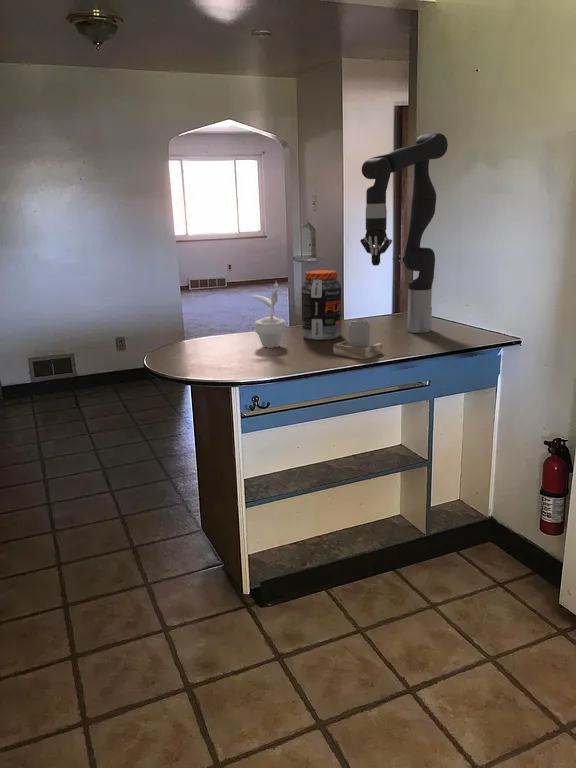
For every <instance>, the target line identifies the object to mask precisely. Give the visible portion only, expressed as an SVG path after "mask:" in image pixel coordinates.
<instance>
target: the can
mask: <svg viewBox="0 0 576 768" xmlns="http://www.w3.org/2000/svg"><path fill="white" fill-rule="evenodd" d="M370 325H371V324H370V323H369V320H368V319H367V318H353V319H351V320H350V322H349V323H348V340H349V346H351V347H357V348H363V349H364V348H366V347H369V346H371V345H370V344H371V343H370V341H371V340H370V337H371V336H370V335H371V333H370V332H371V331H370Z"/></svg>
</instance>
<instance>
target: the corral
mask: <svg viewBox="0 0 576 768" xmlns="http://www.w3.org/2000/svg"><path fill="white" fill-rule="evenodd" d="M332 349H333V355H335V356H336V355H338V356H341V357H342V356H343V357H348V358H352V359H360V360H367V359H369V358H371V357H374V356H375V357H376V356H378V355H380V354H383V343H382V342H378V343H375V344H372V345H370V346H369V347H366V348H364V349H363V348H357V347H351V346H349V339H347V340H346V339H345V340H344V341H343V340H342V341H340V342H338V343H337V342H336V343H333V348H332Z"/></svg>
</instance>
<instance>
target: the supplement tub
mask: <svg viewBox="0 0 576 768" xmlns="http://www.w3.org/2000/svg"><path fill="white" fill-rule="evenodd" d="M304 277H305V280H304V281H303V282H302V284H301V325H302V326H301V327H302V335H303V337H304V338H306V339H308V340H317V341H319V340H321V341H322V340H325V341H326V340H334V339H337V338H339V337H340V336H341V334H342V284H341V283H340V281H339V280H338V278H337V277H338V272H337V270H332V269H316V270H315V269H314V270H307V271H305V273H304Z"/></svg>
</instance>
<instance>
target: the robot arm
mask: <svg viewBox="0 0 576 768" xmlns="http://www.w3.org/2000/svg"><path fill="white" fill-rule="evenodd" d="M448 146H449V145H448V139H447V137H446V135H444V134H443V133H440V132H432V133H425V134H421V135H419V136H418V137H417V139H416V141H415V144H414V145H410V146H404V147H401V148H398V149H395V150H393V151H390V152H388V153H385V154H382V155H377V156H373V157H369V158H368V159H366V160H365V161H364V162H363V164H362V166H361V173H362V175H363V177H365V179H367V180H374V182H373V183H374V184H373V185H372V186H369V187H367V189H366V192H365V193H366V194H365V196H366V198H365V200H366V201H365V236H364V237H363V238H361V239H360V243H361V245H362V247H363V248H364V250H365V252H366V253H367V254H370V255H371V264H372V266H376V267H377V266H379V265H380V264H381V255H382V254H385V253H386V251H387V250H388V249H389V247H390V245H391V244H392V243H393V240H392V239H389V237H388V234H387V231H386V230H387V223H388V222H387V213H388V212H387V211H388V210H387V189H388V186H389V182H390V178H391V173H392V174H393V173H395V172H398V171H401V170H404V169H406V168H408V167H410V166H413V165H414V167H413V169H414V170H413V186H412V187H413V188H412V197H411V206H410V219H409V221H410V222H409V229H408V235H407V239H406V240H407V241H406V246H405V250H404V251H405V252H404V258H403V259H404V261H403V262H404V266H405V269H407V271H410V272H411V271H412V272H418V276H417V278H415V279H412V280H410V281H408V284H407V289H408V290H407V291H408V292H407V328H406V330H407V332H409V333H411V334H412V333H413V334H425V333H429V332H431V330H432V315H433V314H432V312H433V310H432V309H433V308H432V298H433V297H432V293H433V292H432V291H433V283H434V279H435V267H436V254H435V252H434V250H433V249H432V248H430V247H421V241H422V237H423V235H424V232H425V230H426V229H427V227H428V225H430V223H431V221H432V219H433V218H434V216H435V214H436V206H437V193H436V190H435V186H434V185H433V183H432V180H431V177H430V173H429V172H430V171H429V168H430V167H429V165H430V160H437V159H440V158H442V157H443V156H444V155H445V154H446V153H447V151H448Z"/></svg>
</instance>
